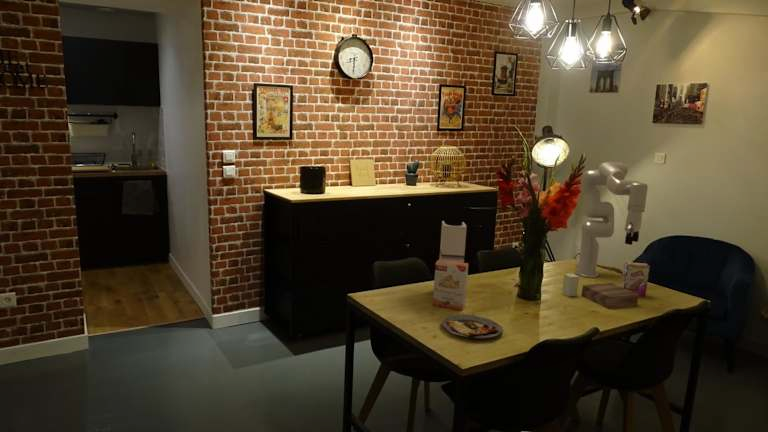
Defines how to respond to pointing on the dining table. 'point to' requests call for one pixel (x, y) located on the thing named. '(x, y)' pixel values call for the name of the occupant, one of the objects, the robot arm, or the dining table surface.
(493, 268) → the dining table surface
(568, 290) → the sage block
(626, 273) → the candy bar box
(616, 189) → the robot arm
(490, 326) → the food plate
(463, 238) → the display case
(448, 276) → the cracker box
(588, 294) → the walnut block
